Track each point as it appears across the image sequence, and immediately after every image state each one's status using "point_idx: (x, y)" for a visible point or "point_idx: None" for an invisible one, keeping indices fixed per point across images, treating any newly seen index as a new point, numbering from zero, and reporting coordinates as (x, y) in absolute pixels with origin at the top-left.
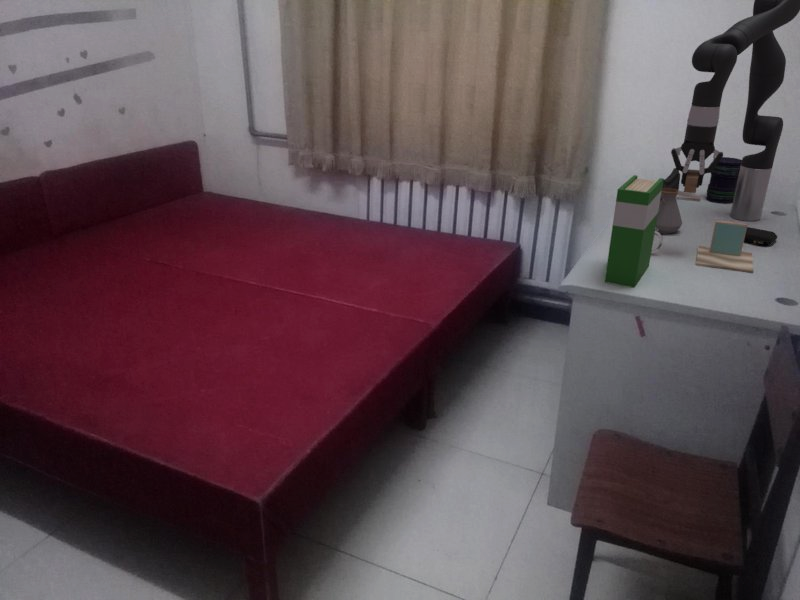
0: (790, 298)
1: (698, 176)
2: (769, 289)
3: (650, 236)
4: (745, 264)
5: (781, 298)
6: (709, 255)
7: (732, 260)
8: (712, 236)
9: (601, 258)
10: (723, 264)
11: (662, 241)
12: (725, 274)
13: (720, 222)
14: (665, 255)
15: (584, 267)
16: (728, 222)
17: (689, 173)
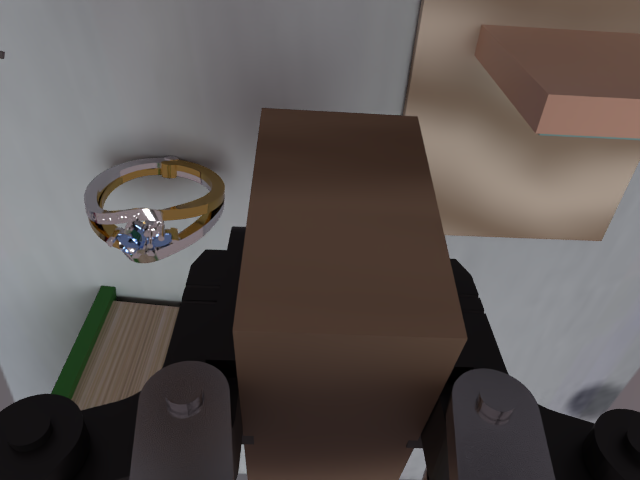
0: (620, 382)
1: (402, 468)
2: (588, 347)
3: None
4: (600, 178)
5: (593, 389)
6: (462, 113)
7: (558, 145)
8: (504, 73)
9: (22, 281)
10: (498, 212)
11: (222, 202)
12: (482, 279)
13: (568, 133)
14: (255, 154)
15: (16, 369)
16: (629, 118)
17: (277, 432)
